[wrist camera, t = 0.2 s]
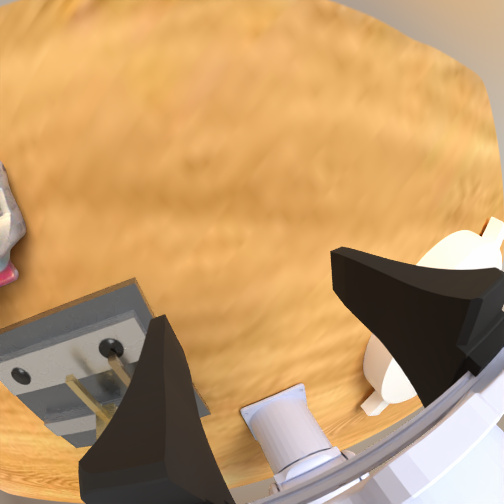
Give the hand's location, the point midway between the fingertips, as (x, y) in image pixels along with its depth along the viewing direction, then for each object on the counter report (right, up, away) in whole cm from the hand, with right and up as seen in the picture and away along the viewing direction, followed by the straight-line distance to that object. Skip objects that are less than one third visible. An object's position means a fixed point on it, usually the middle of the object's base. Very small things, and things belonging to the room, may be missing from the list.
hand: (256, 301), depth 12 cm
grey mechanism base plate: (-15, -10, +11) cm, 21 cm away
